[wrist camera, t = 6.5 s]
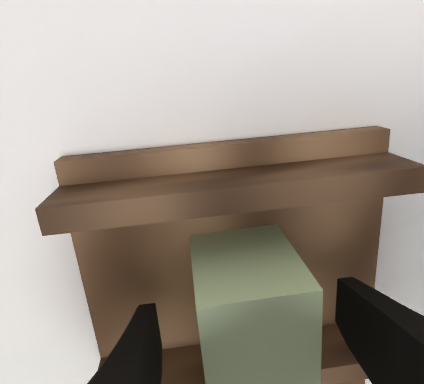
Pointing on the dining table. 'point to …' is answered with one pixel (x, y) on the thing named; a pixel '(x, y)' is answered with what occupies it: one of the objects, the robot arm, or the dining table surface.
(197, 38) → the dining table surface
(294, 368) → the sage block
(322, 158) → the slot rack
